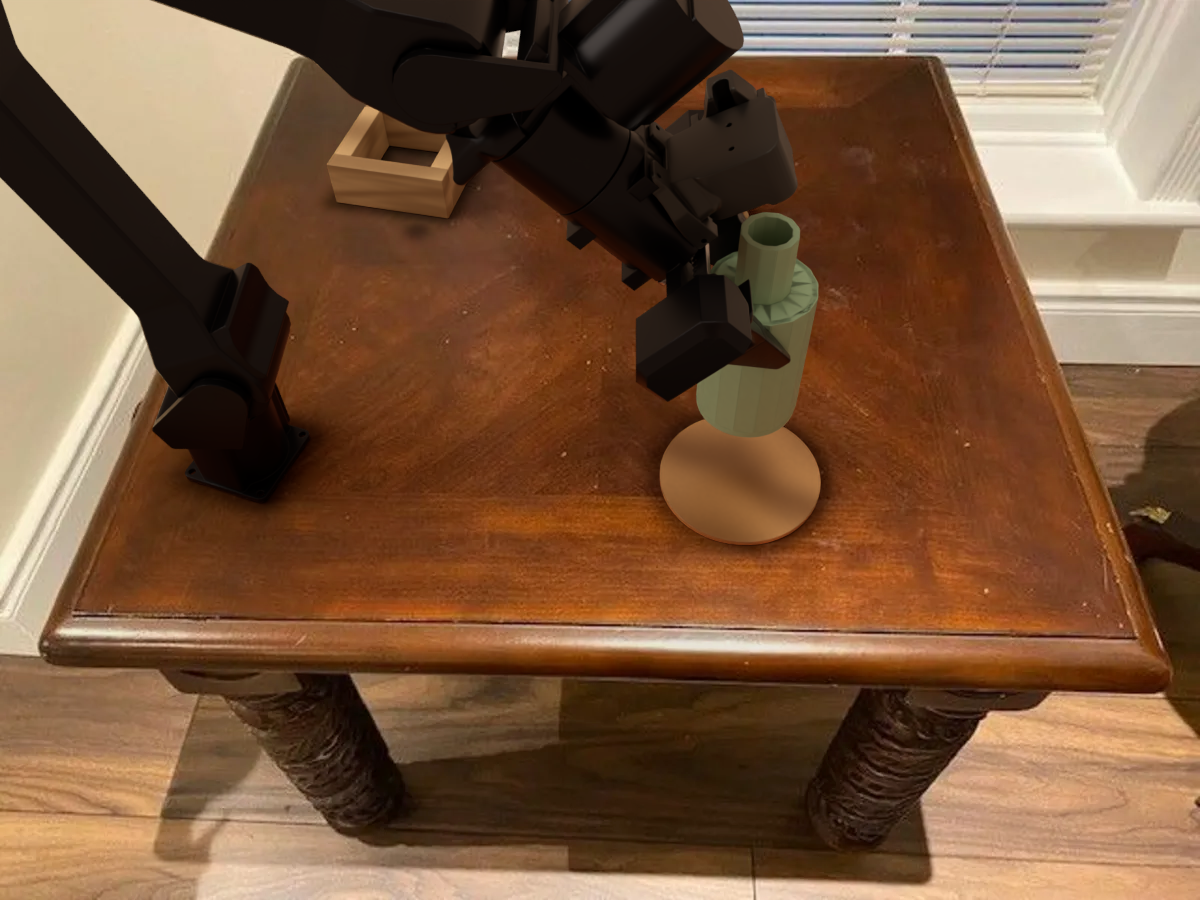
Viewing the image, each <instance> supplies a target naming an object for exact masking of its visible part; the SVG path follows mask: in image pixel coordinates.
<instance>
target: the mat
mask: <svg viewBox="0 0 1200 900" xmlns="http://www.w3.org/2000/svg"><path fill="white" fill-rule="evenodd" d="M821 482H822V480H821V472H820V469H819V466H818V463H817V460H816V458H815V456H814V455H813V453H812V452H811V450H810V448H809V447H808V446H807V444H805V442H804V441H803V440H802V439H801V438H800V437H798V436H797V435H796V434H795V433H793V432H792V431H791V430H789V429H788V428H786V427H784V426H783V427H782V428H780V429H779V430H777V431H775V432H773V433H771V434H768V435H765V436H760V437H750V438H749V437H738V436H733V435H730V434H727V433H724V432H722V431H720V430H718V429H716V428H715V427H713V426H712V425H711V424H709V423H708V422H707V421H706V420H705V419H704V418H703V419H701V420H699V421H696V422H694V423H692V424H690V425H689V426H686V427H685V428H684V429H683V430H681V431H680V432H678V433H677V435H676V436H675V437H674V438H673V439H672V440H671V441H670V443H669V444H668V446H666V449H665V451H664V453H663V455H662V458H661V461H660V466H659V485H660V490H661V494H662V496H663V499H664V501H665V503H666V504H667V507H668V508H669V509H670V511H671V513H673V515H674V516H675V517H676V518H677V519H678V520H679V521H680V522H681V523H683V524H684V525H685V526H686V527H687V528H689V529H690V530H692V531H693V532H694V533H697V534H699V535H701V536H703V537H704V538H707V539H710V540H712V541H715V542H719V543H724V544H726V545H727V544H729V545H735V546H755V545H762V544H768V543H771V542H774V541H777V540H781V539H782V538H784V537H786V536H789V535H790V534H792V533H793V532H795V531H797V530H798V529H799V528H801V526H802V525H804V524H805V523H806V522H807V520H808V519H809V518H810V517H811V515H812V513H813V512H814V510H815V508H816V507H817V503H818V501H819V497H820V492H821V485H822V484H821Z"/></svg>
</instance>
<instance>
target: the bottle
mask: <svg viewBox="0 0 1200 900" xmlns="http://www.w3.org/2000/svg"><path fill="white" fill-rule="evenodd" d="M800 240H801V228H800V227H799V226H798V224H797V223H796V221H794V219H792V218H791V217H788V216H786V215H784V214H782V213H780V212H779V213H778V212H769V211H763V212H759V213H756V214H752V215H749V217H748V218H747V219H746V220H745V221H744V222H743V223H742V225H741V232H740V240H739V249H738V252H733V253H731V254H730V255H728V256H726V257H724V258H722V259H720V260H718V261H717V262H716V264H715V265H714V266H713V265H712V267H711V274H712V273H715V274H717V275H725V276H726V277H727V278H728V279H730V280H731V281H732V282H733V283H735V284H736V285H737V286H739V285H740V284H742V283H743V282H745V281H746V280H748V279H749V280H750V283H751V293H752V303H753V312H754V316H755V317H756V318H757V319H758V320H759V321H760V322H761V323H762V324H763V325H764V326H765V327H766V328H767V329H768V331H769V332H770V333H771V334H772V335H773V336H774V337H775V338H776V339H777V340H778V341H779V342H780V344H781V345H782V346H783V347H784V349H785V350H786V351H787V352H788V354H789V355H790V358H791V361H790V363H788V364H787V365H785V366H783V367H782V368H780V369H776V370H775V369H766V368H756V367H747V366H737V365H727V366H725V367H723V368H722V369H720V370H719V371H717V372H715V373H714V374H712V375H711V376H709V377H707V378H706V379H704V380H703V381H701V382H699V383H698V384H696V390H695V391H696V393H695V400H696V405H697V408H698V411H699V413H700V415H701V416H702V418H703V419H705V420H706V421H707V422H708V423H709V424H711V425H712V426H713V427H715V428H716V429H718V430H720V431H722V432H724V433H727V434H730V435H733V436H738V437H749V438H750V437H760V436H765V435H768V434H771V433H773V432H775V431H777V430H779V429H780V428H782V427H784V426H785V425H786V424H787V423H788V422H789V420H791V418H792V416H793V414H794V412H795V409H796V406H797V402H798V396H799V393H800V387H801V382H802V377H803V373H804V368H805V363H806V358H807V353H808V349H809V345H810V339H811V334H812V330H813V325H814V320H815V315H816V312H817V311H816V310H817V306H818V301H819V281H818V280H817V278H816V277H815V275H814V273H813V271H812V269H811V268H810V267H809V266H807V265H806V264H804V263H803V262H802V261H801V260H799V259H798V257H797V256H798V251H799V244H800Z"/></svg>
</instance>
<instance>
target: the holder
mask: <svg viewBox="0 0 1200 900" xmlns="http://www.w3.org/2000/svg"><path fill="white" fill-rule="evenodd" d="M389 147H397V148H405V149H410V150H411V149H412V150H418V151H426V152H434V153H437V155H436V156H435V158H434V160H433V162H432V163H431V165H430V166H425V165H420V164H419V165H418V164H411V163H404V162H398V161H390V160H382V158H383V157H384V155H385V153H387V150H388V149H389ZM326 168H327V172H328V175H329V179H330V182H331V186H332V191H333V194H334V196H335V201H336V203H339V204H340V203H341V204H346V205H354V206H360V207H368V208H374V209H381V210H388V211H395V212H400V213H407V214H414V215H421V216H427V217H428V216H429V217H434V218H435V217H436V218H442V219H449V218H450V216H451V214H452V212H453V210H454V209H455V207H456V205H457V202H458V201H459V199H460V197H461V195H462V193H463V191H464V189H465V187H466V185H467V184H465V185H462V186H461V185H457V184H456V183H454V181H453V165H452V155H451V150H450V147H449V144H448V142H447V140H446V138H445V134H432V133H427V132H422V131H419V130H417V129H414V128H412V127H409V126H407V125H405V124H403V123H401V122H399V121H397V120H395V119H393V118H391V117H390V116H388V115H386V114H384V113H382V112H380V111H378V110H376V109H374V108H372V107H370V106H368V105H366V104H365V106H364V107H363V109H362V110H361V111H360V113H359V115H358V116H357V118H356V120H355V121H354V122H353V124H352V125H351V126H350V127H349V129H348V132H347V133H346V134H345V136H344V138H343V139H342V140H341V142H340V143H339V145H338V146H337V148H336V150H335V151H334V153H333V154H332V156H331V157H330V159H329V160H328V161H327V163H326Z"/></svg>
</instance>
